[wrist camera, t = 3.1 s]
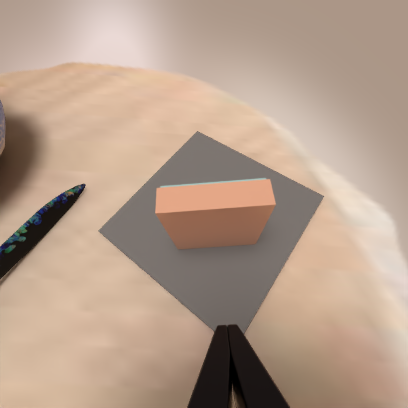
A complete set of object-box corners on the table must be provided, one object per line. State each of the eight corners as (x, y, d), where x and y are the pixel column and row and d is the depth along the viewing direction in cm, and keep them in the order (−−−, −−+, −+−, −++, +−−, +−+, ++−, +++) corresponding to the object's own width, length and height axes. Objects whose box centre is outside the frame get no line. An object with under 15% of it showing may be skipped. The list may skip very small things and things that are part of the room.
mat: (322, 198, 25) (323, 196, 24) (234, 348, 19) (234, 349, 18) (197, 133, 30) (197, 131, 30) (100, 232, 24) (98, 231, 24)
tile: (255, 244, 22) (275, 204, 14) (178, 249, 22) (155, 213, 14) (252, 223, 23) (269, 176, 15) (178, 229, 23) (156, 184, 15)
